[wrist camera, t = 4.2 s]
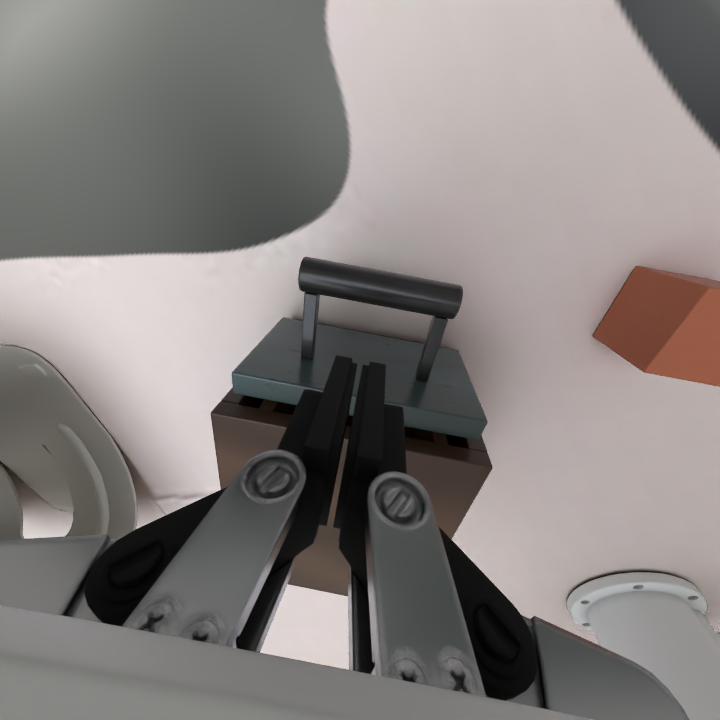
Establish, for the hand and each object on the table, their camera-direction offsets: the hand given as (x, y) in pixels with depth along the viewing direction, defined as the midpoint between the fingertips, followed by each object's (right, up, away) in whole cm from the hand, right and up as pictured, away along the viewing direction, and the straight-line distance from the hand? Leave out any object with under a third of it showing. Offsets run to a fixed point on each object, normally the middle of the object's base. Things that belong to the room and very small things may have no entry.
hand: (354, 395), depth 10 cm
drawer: (0, -1, +11) cm, 11 cm away
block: (+17, +4, +7) cm, 19 cm away
